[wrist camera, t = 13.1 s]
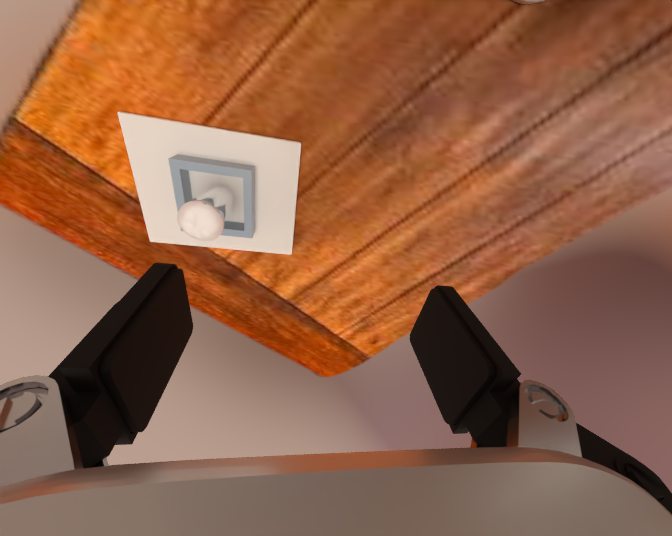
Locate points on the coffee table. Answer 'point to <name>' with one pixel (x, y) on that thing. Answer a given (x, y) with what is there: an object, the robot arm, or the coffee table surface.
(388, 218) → the coffee table surface
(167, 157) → the dock
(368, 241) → the coffee table surface
